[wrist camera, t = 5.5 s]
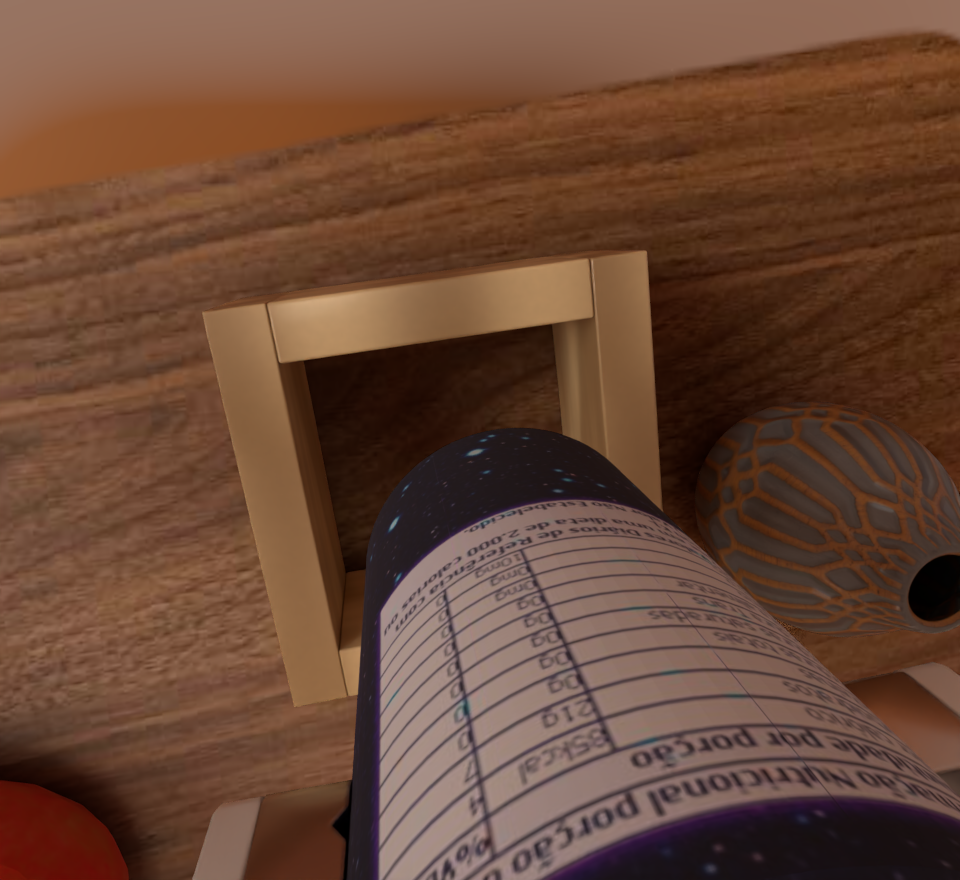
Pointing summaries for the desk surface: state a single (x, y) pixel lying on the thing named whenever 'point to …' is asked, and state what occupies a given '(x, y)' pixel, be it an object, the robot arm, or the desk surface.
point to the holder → (392, 323)
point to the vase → (833, 521)
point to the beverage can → (603, 698)
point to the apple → (53, 838)
